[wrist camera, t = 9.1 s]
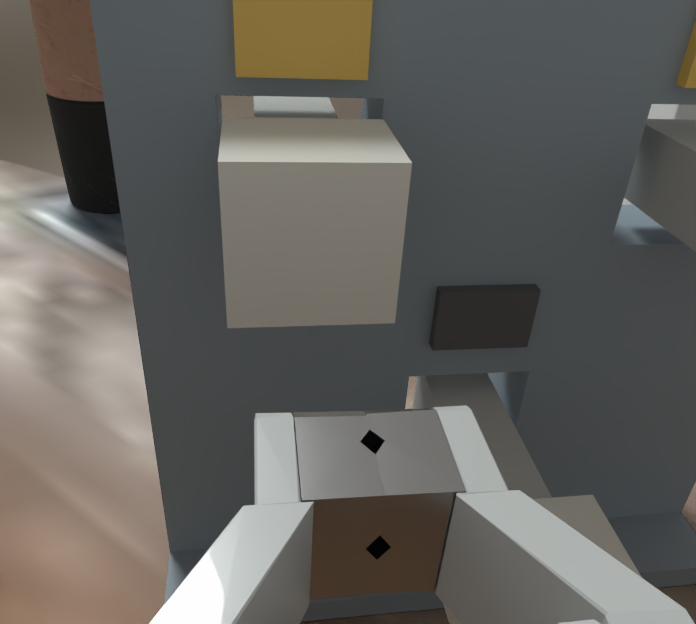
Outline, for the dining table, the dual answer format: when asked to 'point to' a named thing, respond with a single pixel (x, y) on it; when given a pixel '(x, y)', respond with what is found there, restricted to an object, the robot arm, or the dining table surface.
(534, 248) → the panel
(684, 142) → the button top right
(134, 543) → the dining table surface
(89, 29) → the travel mug
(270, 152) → the button top left
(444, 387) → the button bottom
